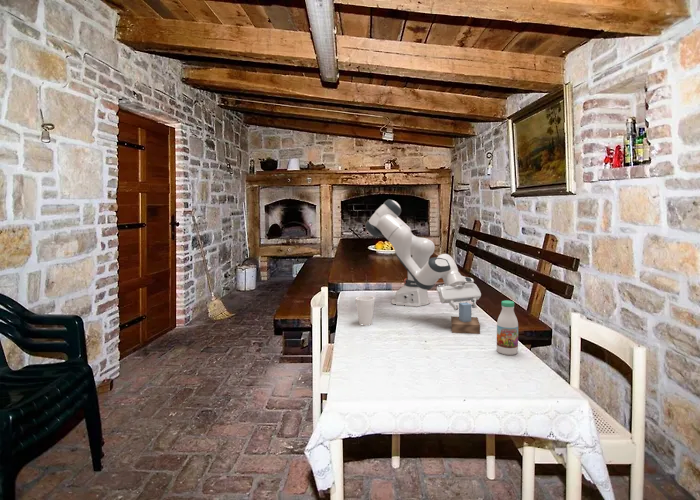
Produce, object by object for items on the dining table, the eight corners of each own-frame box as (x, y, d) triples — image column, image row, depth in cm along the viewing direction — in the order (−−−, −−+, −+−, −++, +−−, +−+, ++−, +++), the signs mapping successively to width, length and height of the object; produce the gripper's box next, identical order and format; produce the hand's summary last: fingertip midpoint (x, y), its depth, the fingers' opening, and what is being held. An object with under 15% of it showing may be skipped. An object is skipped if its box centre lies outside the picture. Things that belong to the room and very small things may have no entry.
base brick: (452, 332, 174) (452, 324, 173) (451, 324, 185) (451, 316, 185) (479, 333, 171) (480, 325, 170) (477, 325, 183) (477, 317, 182)
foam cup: (377, 321, 193) (377, 296, 192) (372, 327, 185) (372, 300, 183) (359, 320, 196) (358, 295, 195) (353, 325, 188) (353, 299, 186)
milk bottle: (492, 348, 153) (493, 299, 151) (511, 347, 154) (512, 298, 152) (502, 356, 146) (503, 304, 143) (521, 354, 146) (522, 303, 144)
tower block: (458, 319, 179) (458, 303, 178) (466, 318, 180) (466, 302, 179) (463, 322, 175) (463, 305, 174) (471, 321, 176) (471, 304, 175)
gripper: (437, 281, 180) (447, 307, 171) (475, 278, 185) (487, 302, 177) (432, 289, 184) (443, 314, 176) (470, 285, 190) (482, 309, 181)
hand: (465, 308), depth 176 cm, fingers open, 8 cm apart
